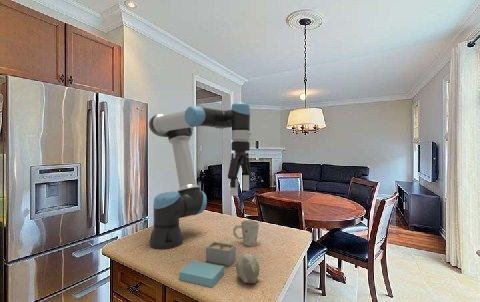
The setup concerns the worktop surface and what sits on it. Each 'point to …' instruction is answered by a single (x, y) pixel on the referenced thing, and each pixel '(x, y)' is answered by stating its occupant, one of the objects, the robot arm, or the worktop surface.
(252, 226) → the mug
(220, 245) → the box
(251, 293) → the worktop surface
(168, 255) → the worktop surface
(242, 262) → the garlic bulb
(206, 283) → the lid
